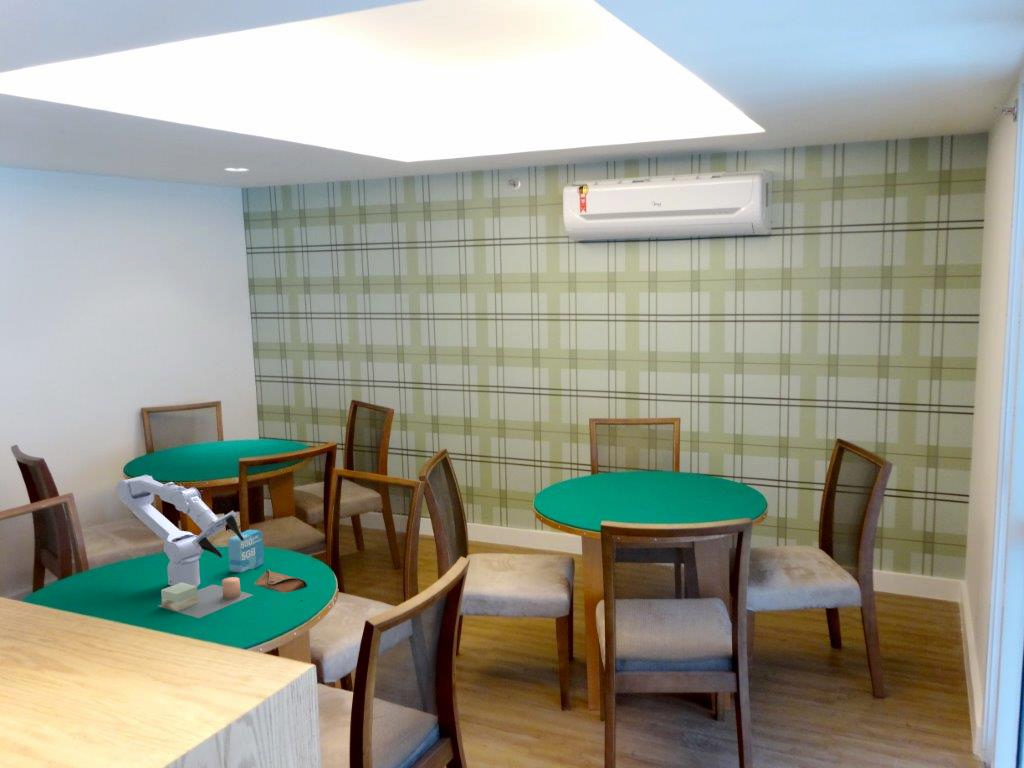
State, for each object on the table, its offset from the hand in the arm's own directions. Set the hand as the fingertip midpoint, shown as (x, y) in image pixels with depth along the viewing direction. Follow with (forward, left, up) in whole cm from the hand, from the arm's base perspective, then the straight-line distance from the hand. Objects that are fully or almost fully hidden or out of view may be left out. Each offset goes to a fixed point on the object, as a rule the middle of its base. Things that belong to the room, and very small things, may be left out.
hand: (231, 547), depth 252 cm
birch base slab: (-9, -12, -15) cm, 22 cm away
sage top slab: (-9, -12, -13) cm, 20 cm away
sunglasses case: (+4, +14, -17) cm, 22 cm away
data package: (-18, +21, -17) cm, 32 cm away
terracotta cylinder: (-1, 0, -15) cm, 15 cm away
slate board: (-5, -6, -16) cm, 18 cm away
